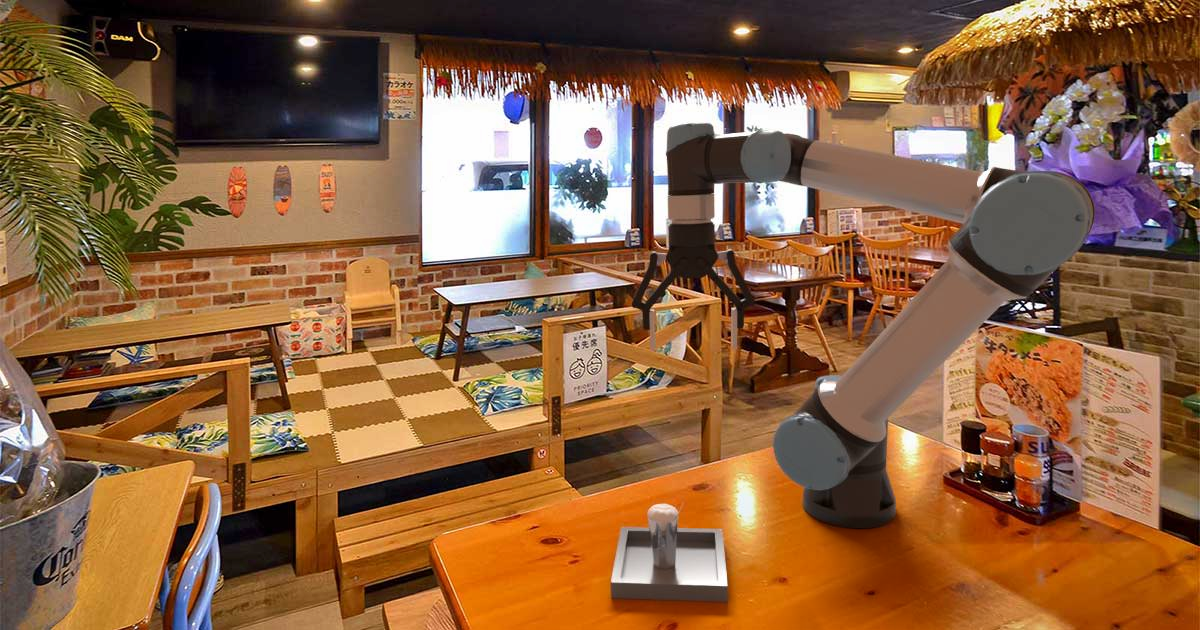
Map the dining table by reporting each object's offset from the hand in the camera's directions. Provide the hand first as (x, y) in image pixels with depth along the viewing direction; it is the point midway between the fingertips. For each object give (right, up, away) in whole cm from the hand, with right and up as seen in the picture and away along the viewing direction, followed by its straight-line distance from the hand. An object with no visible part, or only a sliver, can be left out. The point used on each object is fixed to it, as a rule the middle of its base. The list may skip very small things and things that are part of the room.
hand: (693, 348), depth 121 cm
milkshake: (-6, -32, -14) cm, 35 cm away
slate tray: (-5, -32, -14) cm, 36 cm away
